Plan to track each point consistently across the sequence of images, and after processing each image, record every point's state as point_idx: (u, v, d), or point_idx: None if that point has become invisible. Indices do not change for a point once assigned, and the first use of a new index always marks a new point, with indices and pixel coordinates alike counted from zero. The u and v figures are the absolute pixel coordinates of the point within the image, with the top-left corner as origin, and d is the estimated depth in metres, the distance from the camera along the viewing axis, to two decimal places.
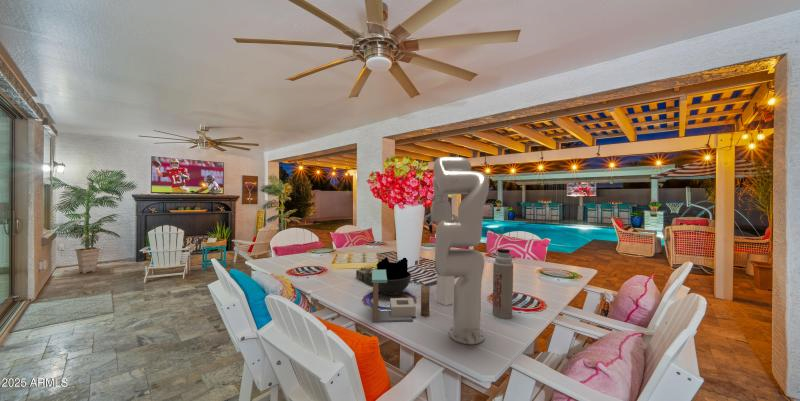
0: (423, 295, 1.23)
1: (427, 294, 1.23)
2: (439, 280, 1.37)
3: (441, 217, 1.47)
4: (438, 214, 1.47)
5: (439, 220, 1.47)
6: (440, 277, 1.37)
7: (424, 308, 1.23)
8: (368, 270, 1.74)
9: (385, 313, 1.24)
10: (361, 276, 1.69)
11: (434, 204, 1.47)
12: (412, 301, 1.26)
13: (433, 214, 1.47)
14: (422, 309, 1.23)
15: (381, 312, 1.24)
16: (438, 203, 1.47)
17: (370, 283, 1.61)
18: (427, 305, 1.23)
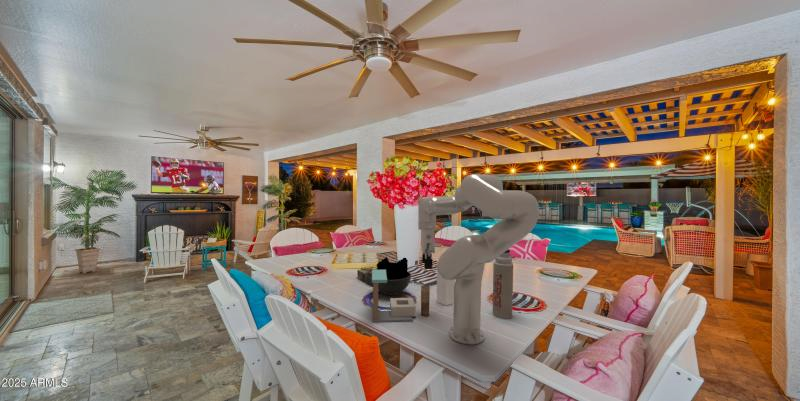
0: (423, 295, 1.23)
1: (427, 294, 1.23)
2: (439, 280, 1.37)
3: None
4: None
5: None
6: (440, 277, 1.37)
7: (424, 308, 1.23)
8: (369, 270, 1.75)
9: (385, 313, 1.24)
10: (362, 276, 1.69)
11: (433, 232, 1.21)
12: (412, 301, 1.26)
13: (434, 245, 1.21)
14: (422, 309, 1.23)
15: (381, 312, 1.24)
16: (433, 230, 1.23)
17: (370, 283, 1.61)
18: (427, 305, 1.23)
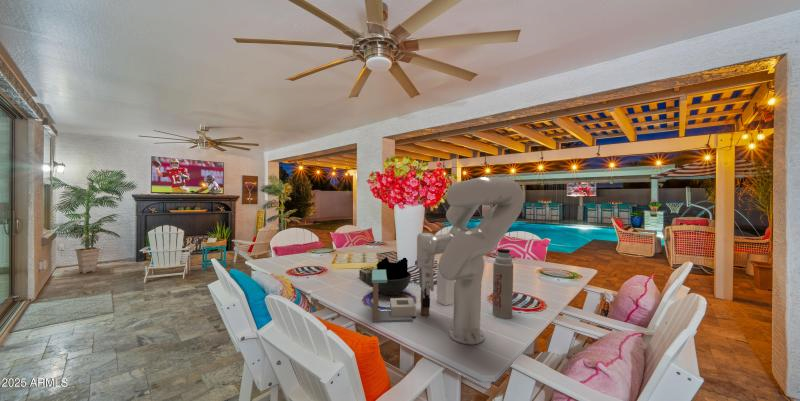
0: None
1: None
2: (439, 280, 1.37)
3: None
4: None
5: None
6: (440, 277, 1.37)
7: (424, 308, 1.23)
8: (371, 270, 1.74)
9: (385, 313, 1.24)
10: (363, 276, 1.69)
11: (432, 270, 1.20)
12: (412, 301, 1.26)
13: (433, 282, 1.20)
14: (422, 309, 1.23)
15: (381, 312, 1.24)
16: None
17: (370, 283, 1.61)
18: None
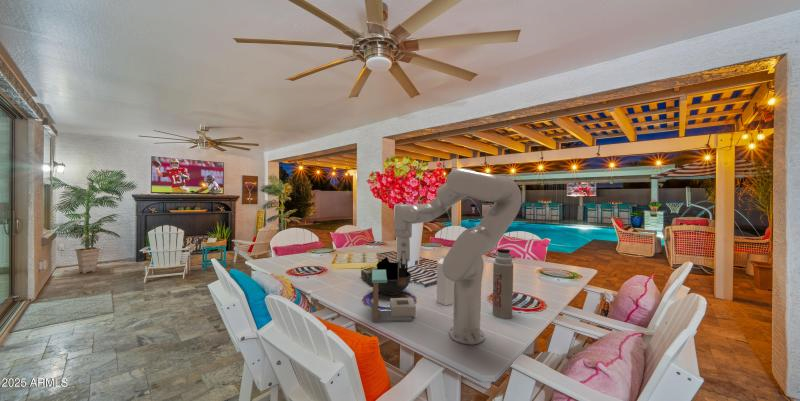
0: None
1: None
2: (439, 280, 1.37)
3: None
4: None
5: None
6: (440, 277, 1.37)
7: (401, 278, 1.24)
8: None
9: (385, 313, 1.24)
10: (364, 276, 1.69)
11: (409, 240, 1.21)
12: (412, 301, 1.26)
13: (409, 252, 1.21)
14: (398, 279, 1.24)
15: (381, 312, 1.24)
16: None
17: (370, 283, 1.61)
18: None
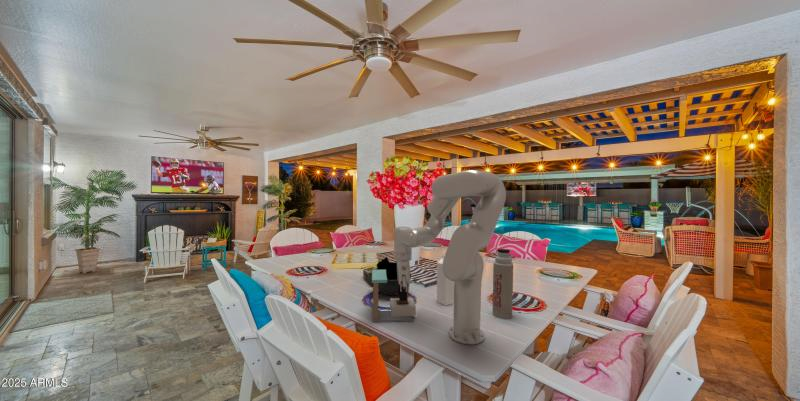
0: None
1: None
2: (439, 280, 1.37)
3: None
4: None
5: None
6: (440, 277, 1.37)
7: (402, 304, 1.24)
8: None
9: (385, 313, 1.24)
10: (366, 276, 1.69)
11: (409, 263, 1.21)
12: (412, 301, 1.26)
13: (409, 276, 1.21)
14: None
15: (381, 312, 1.24)
16: (409, 260, 1.23)
17: (371, 283, 1.60)
18: (405, 302, 1.24)
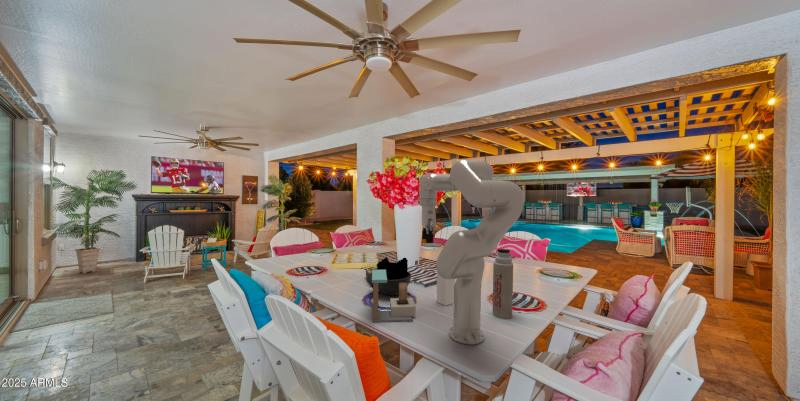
0: (401, 292, 1.24)
1: (405, 291, 1.24)
2: (439, 280, 1.37)
3: None
4: None
5: None
6: (440, 277, 1.37)
7: None
8: None
9: (385, 313, 1.24)
10: (367, 276, 1.69)
11: None
12: (412, 301, 1.26)
13: (435, 220, 1.26)
14: None
15: (381, 312, 1.24)
16: (434, 206, 1.29)
17: (371, 284, 1.60)
18: (405, 302, 1.24)
